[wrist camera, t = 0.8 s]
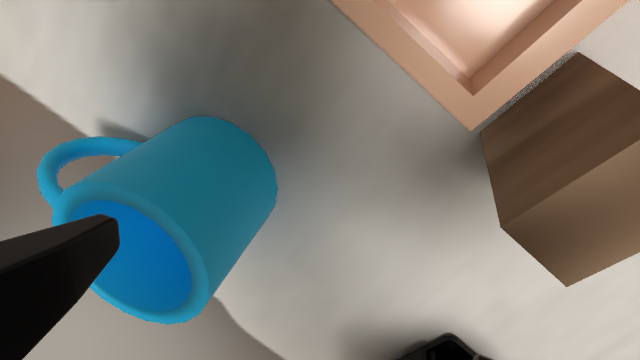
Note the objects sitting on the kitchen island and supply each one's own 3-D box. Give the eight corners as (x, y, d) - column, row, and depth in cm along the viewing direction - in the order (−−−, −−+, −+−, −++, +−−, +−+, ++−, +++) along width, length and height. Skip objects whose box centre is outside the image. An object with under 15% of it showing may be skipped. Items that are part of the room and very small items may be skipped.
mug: (294, 152, 22) (226, 237, 15) (259, 248, 26) (193, 347, 19) (112, 66, 23) (-34, 109, 16) (107, 174, 27) (-8, 244, 20)
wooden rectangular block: (626, 100, 16) (757, 196, 9) (522, 172, 19) (566, 287, 12) (578, 52, 16) (678, 115, 9) (479, 132, 18) (500, 227, 12)
